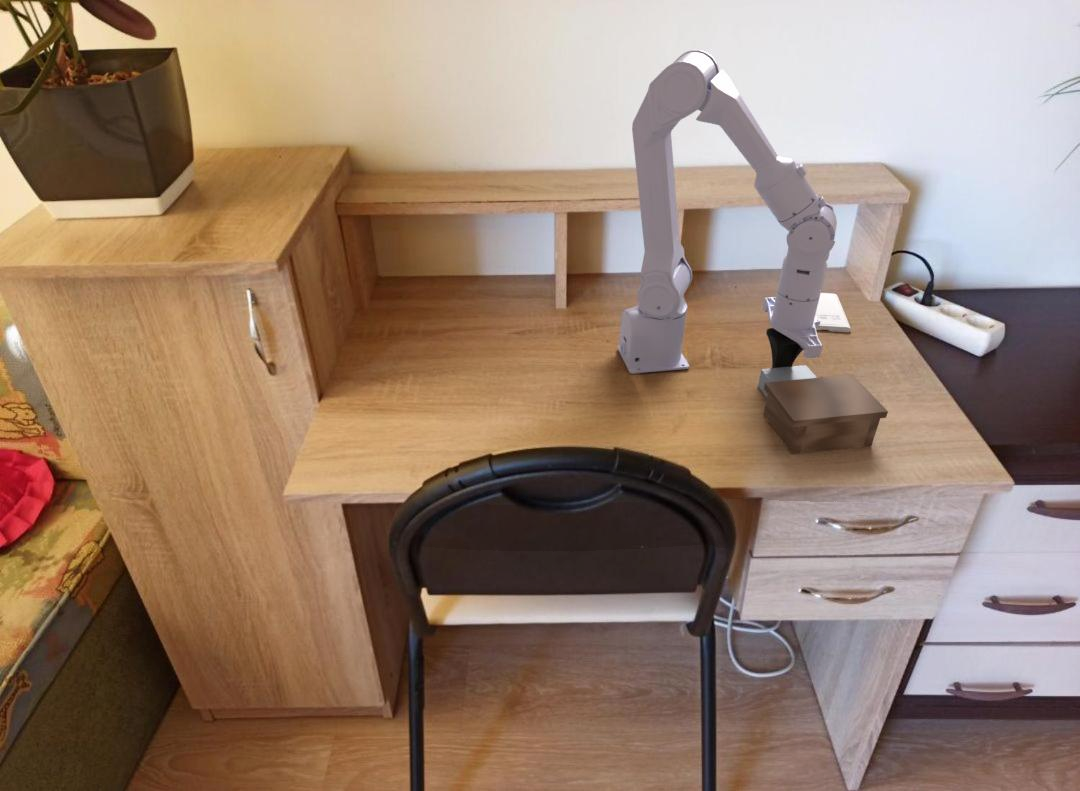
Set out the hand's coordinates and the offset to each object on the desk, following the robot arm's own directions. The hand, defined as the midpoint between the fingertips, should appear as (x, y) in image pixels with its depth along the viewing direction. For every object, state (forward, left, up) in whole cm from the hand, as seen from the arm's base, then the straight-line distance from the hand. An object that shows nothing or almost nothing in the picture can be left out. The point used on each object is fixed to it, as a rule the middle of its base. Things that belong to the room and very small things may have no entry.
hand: (780, 374), depth 113 cm
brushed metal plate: (0, -8, -1) cm, 8 cm away
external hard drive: (+16, +20, -2) cm, 26 cm away
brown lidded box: (0, -12, -1) cm, 12 cm away
